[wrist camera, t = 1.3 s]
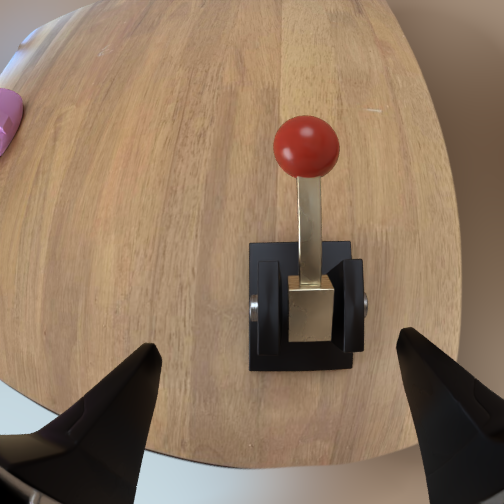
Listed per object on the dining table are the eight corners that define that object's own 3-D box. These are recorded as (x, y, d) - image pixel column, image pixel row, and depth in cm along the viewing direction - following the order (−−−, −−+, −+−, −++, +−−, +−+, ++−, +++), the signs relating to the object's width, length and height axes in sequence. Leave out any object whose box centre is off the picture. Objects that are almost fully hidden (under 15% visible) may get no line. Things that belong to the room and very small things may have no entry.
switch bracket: (251, 245, 24) (227, 205, 14) (347, 243, 23) (385, 202, 13) (250, 367, 22) (225, 408, 12) (349, 365, 21) (389, 402, 11)
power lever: (272, 125, 14) (270, 107, 11) (331, 124, 14) (342, 108, 11) (279, 319, 16) (277, 346, 13) (333, 318, 16) (342, 344, 13)
